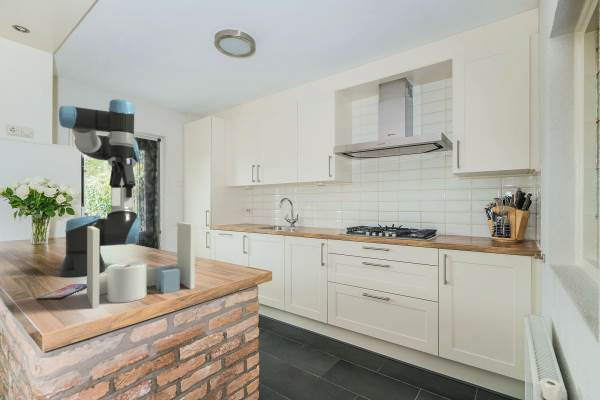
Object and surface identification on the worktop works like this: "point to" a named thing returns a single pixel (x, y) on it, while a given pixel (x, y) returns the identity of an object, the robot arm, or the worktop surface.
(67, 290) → the smartphone
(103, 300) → the worktop surface
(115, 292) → the toilet tissue
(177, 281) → the paddle block
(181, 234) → the panel frame
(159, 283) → the paddle block
